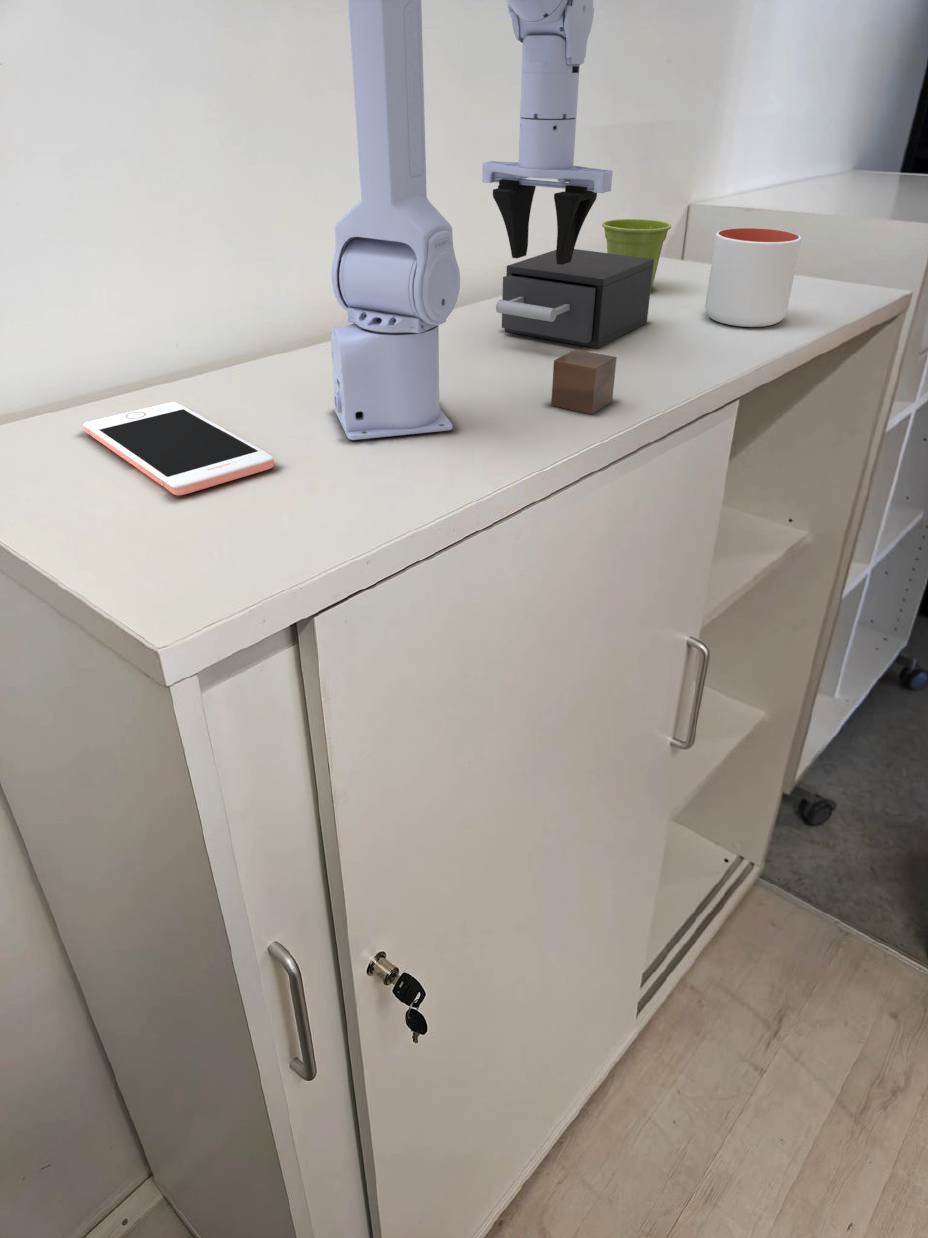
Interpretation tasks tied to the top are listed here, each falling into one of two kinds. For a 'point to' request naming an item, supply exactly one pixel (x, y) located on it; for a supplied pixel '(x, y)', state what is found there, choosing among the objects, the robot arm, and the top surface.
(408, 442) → the top surface
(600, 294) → the cabinet
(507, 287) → the drawer
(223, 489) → the top surface
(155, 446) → the cell phone
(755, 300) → the cup
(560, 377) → the block
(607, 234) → the plant pot
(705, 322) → the top surface
